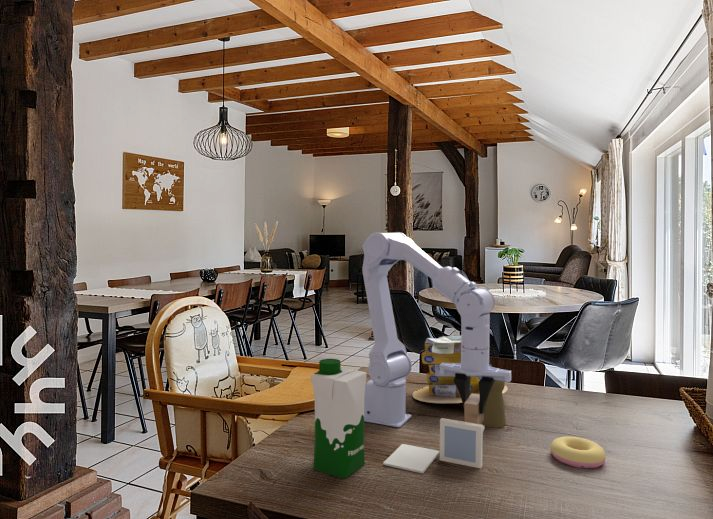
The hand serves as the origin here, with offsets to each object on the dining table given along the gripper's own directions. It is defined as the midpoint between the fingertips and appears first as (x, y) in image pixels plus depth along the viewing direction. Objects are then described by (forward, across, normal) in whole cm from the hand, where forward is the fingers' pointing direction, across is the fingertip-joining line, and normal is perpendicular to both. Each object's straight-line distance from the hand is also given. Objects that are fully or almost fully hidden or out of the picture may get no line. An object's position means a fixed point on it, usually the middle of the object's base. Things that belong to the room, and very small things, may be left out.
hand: (474, 411), depth 110 cm
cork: (+7, +1, +14) cm, 15 cm away
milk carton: (+7, -20, -22) cm, 31 cm away
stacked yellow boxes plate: (+7, -11, +28) cm, 31 cm away
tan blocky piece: (+3, 0, -2) cm, 3 cm away
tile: (+7, 0, -10) cm, 12 cm away
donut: (+7, +20, +2) cm, 21 cm away
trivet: (+7, -9, -13) cm, 17 cm away
